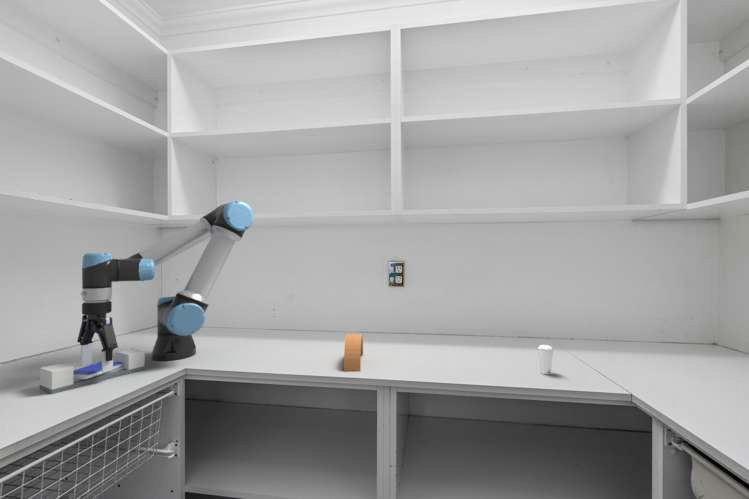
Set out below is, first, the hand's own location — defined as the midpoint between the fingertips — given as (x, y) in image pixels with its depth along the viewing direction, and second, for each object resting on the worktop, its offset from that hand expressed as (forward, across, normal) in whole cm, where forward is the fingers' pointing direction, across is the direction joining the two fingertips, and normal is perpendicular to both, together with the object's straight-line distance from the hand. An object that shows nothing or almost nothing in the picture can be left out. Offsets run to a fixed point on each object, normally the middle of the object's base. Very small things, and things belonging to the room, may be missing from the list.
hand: (96, 368), depth 114 cm
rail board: (+3, 0, 0) cm, 3 cm away
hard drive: (+2, -1, 0) cm, 2 cm away
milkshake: (+4, +125, +74) cm, 145 cm away
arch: (+4, +63, +54) cm, 83 cm away
